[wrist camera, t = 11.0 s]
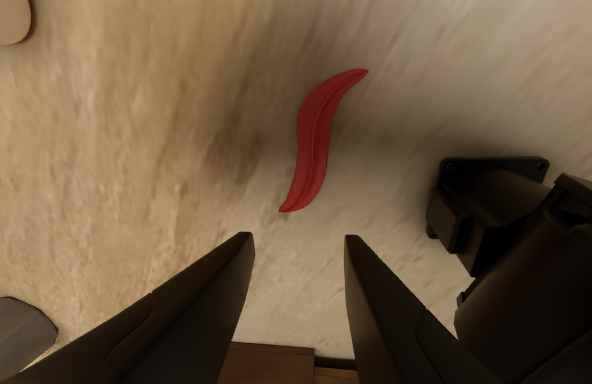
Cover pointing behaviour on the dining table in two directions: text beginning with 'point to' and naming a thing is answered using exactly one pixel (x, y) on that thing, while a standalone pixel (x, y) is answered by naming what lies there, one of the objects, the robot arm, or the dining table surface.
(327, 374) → the drawer
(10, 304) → the coffeepot
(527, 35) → the dining table surface
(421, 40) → the dining table surface
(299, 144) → the cayenne pepper
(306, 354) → the cabinet
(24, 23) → the drinking glass
